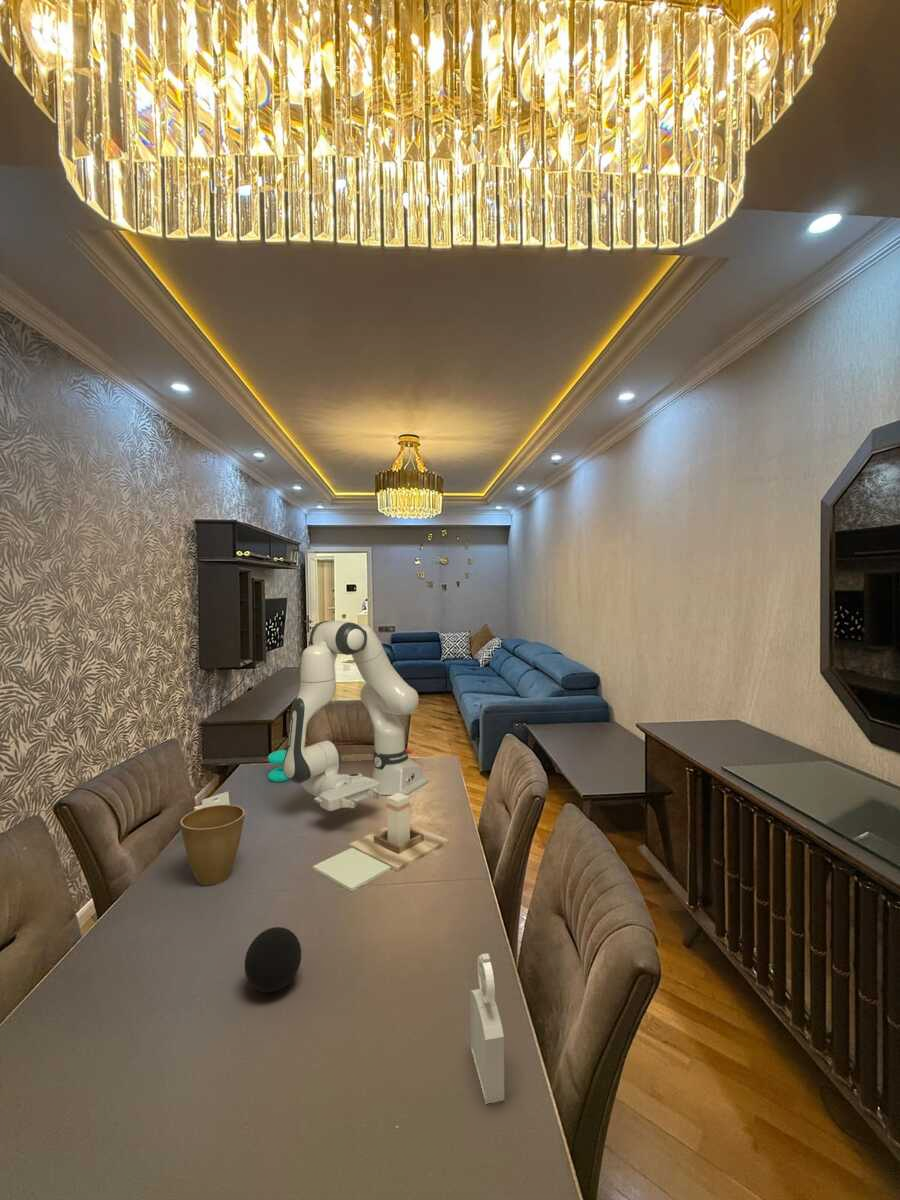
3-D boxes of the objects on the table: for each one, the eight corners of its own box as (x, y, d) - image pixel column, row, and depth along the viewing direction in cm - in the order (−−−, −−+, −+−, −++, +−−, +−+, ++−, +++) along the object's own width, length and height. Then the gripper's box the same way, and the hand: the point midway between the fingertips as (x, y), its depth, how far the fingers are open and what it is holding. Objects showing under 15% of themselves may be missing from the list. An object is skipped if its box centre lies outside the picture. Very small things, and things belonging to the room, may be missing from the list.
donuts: (296, 754, 203) (269, 758, 199) (297, 780, 203) (269, 784, 199) (292, 747, 212) (266, 751, 208) (293, 772, 212) (267, 776, 208)
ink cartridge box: (222, 836, 158) (221, 787, 158) (231, 840, 155) (230, 791, 155) (193, 847, 151) (192, 796, 151) (202, 852, 148) (201, 800, 148)
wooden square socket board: (399, 823, 166) (399, 814, 165) (448, 843, 152) (448, 833, 152) (348, 847, 150) (348, 837, 150) (397, 871, 137) (397, 860, 137)
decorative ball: (309, 967, 103) (308, 916, 103) (289, 1008, 93) (288, 952, 93) (260, 964, 104) (259, 914, 104) (234, 1004, 94) (233, 949, 94)
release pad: (351, 850, 149) (351, 847, 149) (390, 869, 138) (390, 866, 138) (312, 869, 139) (312, 866, 139) (351, 891, 128) (351, 888, 128)
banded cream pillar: (399, 839, 155) (398, 792, 154) (410, 844, 152) (409, 796, 151) (387, 845, 151) (386, 797, 151) (398, 851, 148) (398, 801, 148)
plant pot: (222, 897, 127) (221, 831, 126) (168, 890, 130) (166, 826, 129) (257, 865, 141) (255, 805, 141) (207, 860, 144) (206, 801, 144)
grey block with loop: (487, 1045, 85) (486, 935, 85) (504, 1101, 76) (503, 977, 75) (470, 1048, 84) (469, 937, 84) (485, 1104, 75) (484, 980, 75)
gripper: (310, 788, 161) (339, 800, 151) (363, 771, 176) (391, 781, 167) (310, 809, 161) (339, 821, 152) (363, 790, 176) (391, 801, 167)
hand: (367, 800), depth 159 cm, fingers open, 8 cm apart
